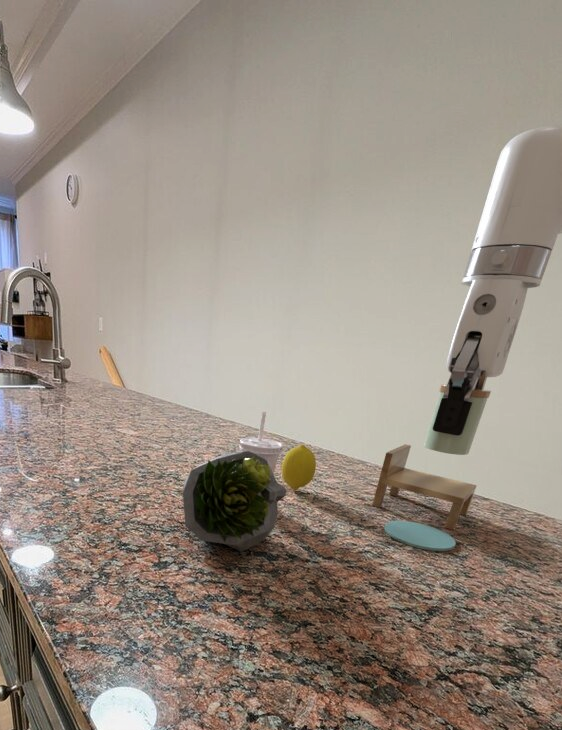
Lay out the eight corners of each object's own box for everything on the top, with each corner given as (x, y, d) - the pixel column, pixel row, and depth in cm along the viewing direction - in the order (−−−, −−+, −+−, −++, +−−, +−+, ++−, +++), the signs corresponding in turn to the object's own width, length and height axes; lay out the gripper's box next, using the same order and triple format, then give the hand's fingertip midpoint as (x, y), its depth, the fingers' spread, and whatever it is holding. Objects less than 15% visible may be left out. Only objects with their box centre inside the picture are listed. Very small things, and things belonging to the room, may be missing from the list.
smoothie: (259, 495, 73) (273, 409, 68) (280, 510, 68) (298, 417, 62) (224, 497, 71) (236, 408, 65) (243, 512, 65) (258, 417, 60)
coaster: (461, 538, 63) (462, 535, 63) (446, 557, 57) (447, 555, 57) (395, 518, 69) (396, 515, 68) (375, 534, 62) (376, 531, 62)
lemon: (290, 482, 81) (299, 439, 78) (317, 492, 77) (326, 447, 74) (271, 487, 77) (279, 442, 74) (297, 497, 74) (307, 450, 70)
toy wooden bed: (466, 514, 73) (485, 461, 70) (453, 530, 66) (473, 472, 62) (391, 493, 80) (405, 444, 77) (371, 505, 73) (386, 452, 70)
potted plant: (291, 503, 61) (329, 517, 46) (215, 558, 62) (227, 589, 47) (240, 431, 60) (261, 421, 45) (163, 487, 60) (158, 496, 46)
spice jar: (472, 451, 58) (494, 390, 55) (464, 457, 54) (487, 392, 51) (428, 442, 61) (446, 384, 58) (417, 447, 58) (436, 385, 55)
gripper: (538, 256, 42) (472, 445, 49) (549, 281, 54) (495, 430, 61) (449, 258, 46) (401, 431, 53) (478, 280, 58) (436, 419, 65)
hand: (452, 429), depth 57 cm, fingers closed on spice jar, 5 cm apart
